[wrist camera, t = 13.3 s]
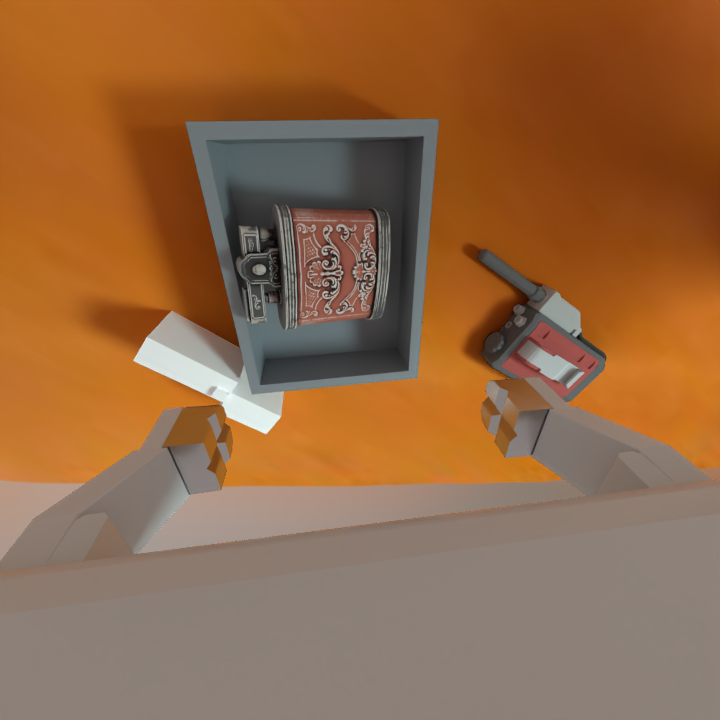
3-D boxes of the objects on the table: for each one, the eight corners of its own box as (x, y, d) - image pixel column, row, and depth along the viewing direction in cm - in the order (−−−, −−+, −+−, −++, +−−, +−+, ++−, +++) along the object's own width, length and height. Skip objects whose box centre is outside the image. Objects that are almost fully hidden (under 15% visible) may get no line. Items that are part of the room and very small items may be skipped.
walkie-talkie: (611, 336, 35) (481, 237, 28) (647, 357, 31) (508, 248, 24) (550, 395, 38) (419, 321, 31) (577, 420, 35) (435, 343, 27)
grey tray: (414, 127, 22) (439, 118, 18) (402, 349, 32) (417, 378, 27) (209, 130, 21) (185, 121, 17) (259, 362, 30) (251, 394, 26)
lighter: (370, 206, 24) (226, 201, 20) (394, 208, 21) (232, 203, 17) (365, 311, 28) (242, 324, 24) (385, 324, 25) (249, 342, 21)
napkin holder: (121, 304, 26) (79, 336, 22) (257, 270, 26) (245, 293, 22) (206, 434, 34) (189, 479, 29) (310, 407, 34) (311, 447, 29)
